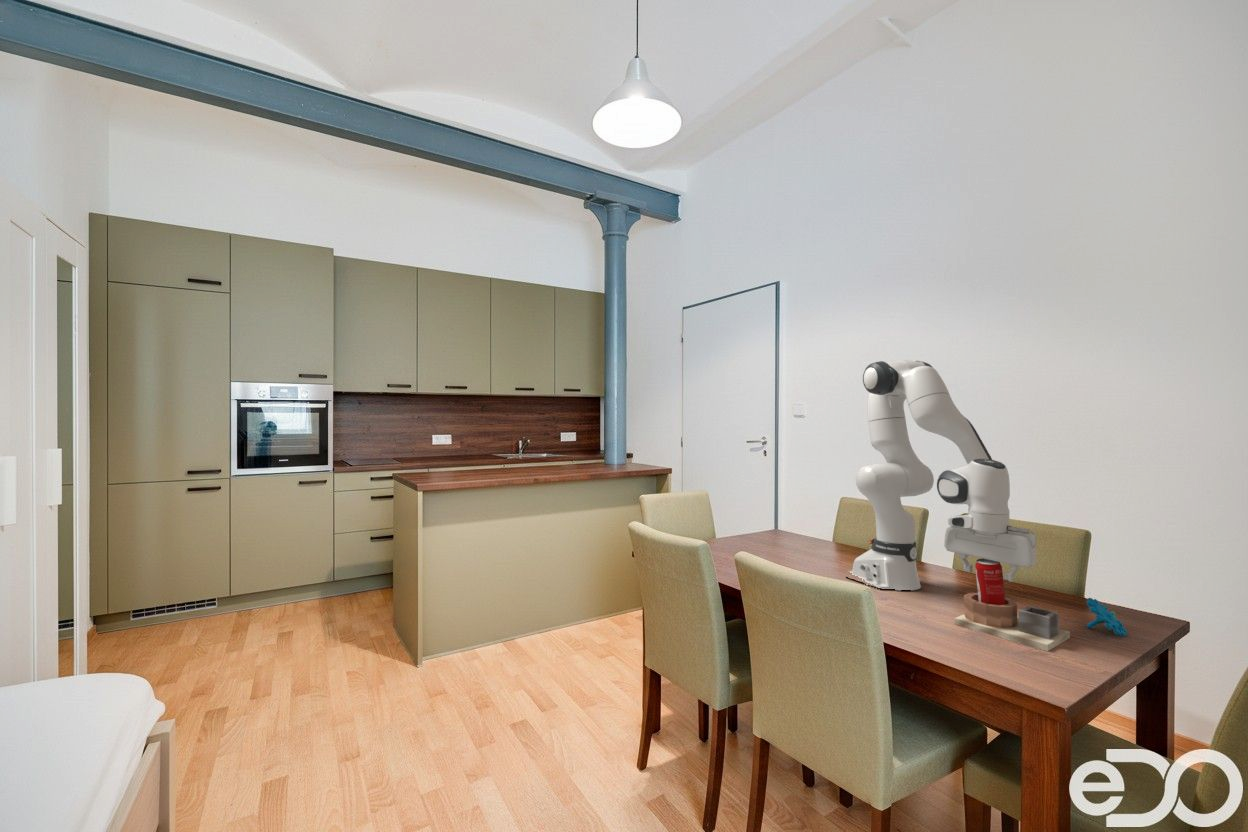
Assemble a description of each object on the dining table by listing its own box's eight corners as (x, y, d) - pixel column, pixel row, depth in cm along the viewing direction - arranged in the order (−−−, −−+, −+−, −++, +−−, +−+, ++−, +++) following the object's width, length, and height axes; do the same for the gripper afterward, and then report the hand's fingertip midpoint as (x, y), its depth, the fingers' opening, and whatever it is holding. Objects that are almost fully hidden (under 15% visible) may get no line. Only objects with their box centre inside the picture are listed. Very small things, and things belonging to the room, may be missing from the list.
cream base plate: (954, 624, 140) (954, 598, 140) (978, 613, 147) (978, 589, 148) (1047, 651, 123) (1047, 622, 123) (1069, 637, 131) (1069, 610, 131)
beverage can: (1010, 618, 139) (1008, 560, 139) (999, 625, 135) (996, 565, 135) (985, 612, 144) (982, 555, 144) (973, 618, 140) (970, 560, 140)
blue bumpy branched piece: (1121, 635, 128) (1084, 596, 134) (1098, 647, 131) (1063, 609, 138) (1136, 631, 134) (1101, 595, 140) (1114, 643, 137) (1080, 607, 144)
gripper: (1041, 528, 133) (1041, 584, 133) (953, 514, 150) (952, 564, 150) (1031, 532, 129) (1030, 589, 129) (941, 517, 146) (941, 568, 146)
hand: (987, 576), depth 140 cm, fingers open, 8 cm apart
